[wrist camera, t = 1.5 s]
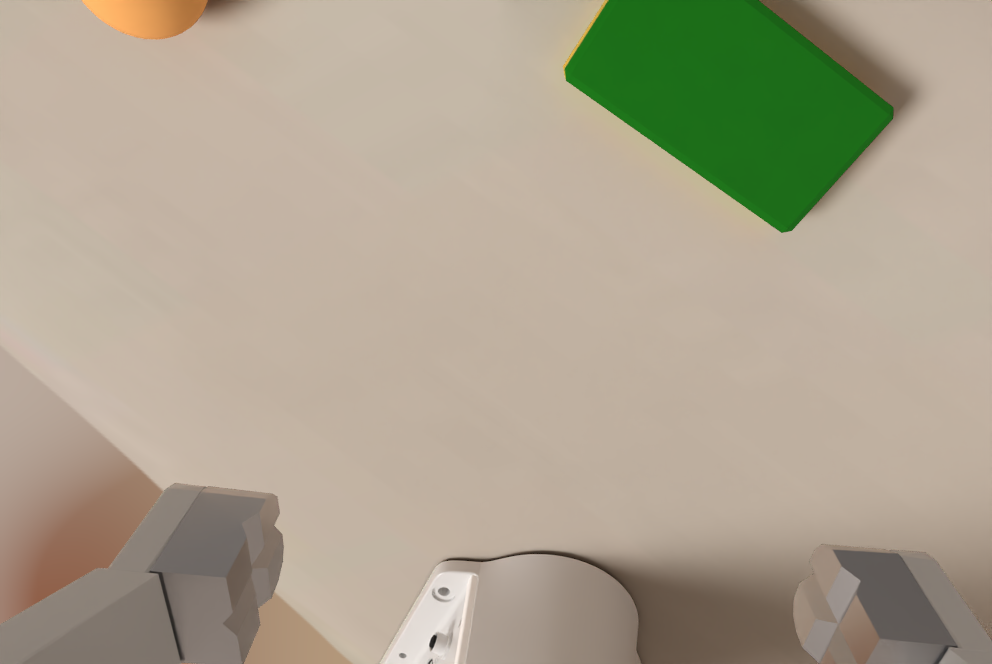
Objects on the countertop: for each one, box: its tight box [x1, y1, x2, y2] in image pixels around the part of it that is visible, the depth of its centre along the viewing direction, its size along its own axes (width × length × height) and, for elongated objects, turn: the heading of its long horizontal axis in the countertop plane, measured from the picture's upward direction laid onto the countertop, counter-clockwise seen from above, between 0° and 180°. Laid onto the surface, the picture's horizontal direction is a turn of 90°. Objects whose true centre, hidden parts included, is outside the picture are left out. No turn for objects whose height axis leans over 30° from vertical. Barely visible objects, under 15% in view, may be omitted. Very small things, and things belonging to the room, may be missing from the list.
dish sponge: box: [563, 0, 894, 233], centre depth 30 cm, size 7×14×2 cm, turn 58°
